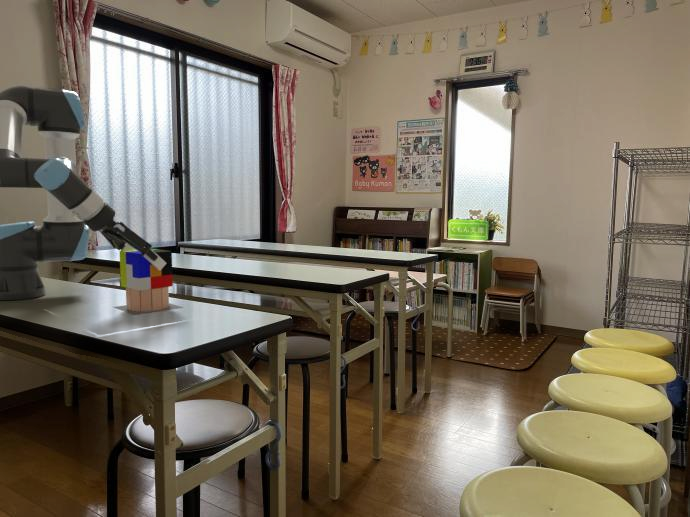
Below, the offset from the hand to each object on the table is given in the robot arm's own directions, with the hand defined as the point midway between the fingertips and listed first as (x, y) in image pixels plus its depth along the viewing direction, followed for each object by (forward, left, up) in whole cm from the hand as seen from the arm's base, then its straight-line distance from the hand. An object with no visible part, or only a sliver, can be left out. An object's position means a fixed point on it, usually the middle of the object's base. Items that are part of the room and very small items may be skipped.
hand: (151, 264), depth 143 cm
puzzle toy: (0, -1, -6) cm, 6 cm away
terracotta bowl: (0, -1, -12) cm, 12 cm away
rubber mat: (0, -1, -13) cm, 13 cm away
